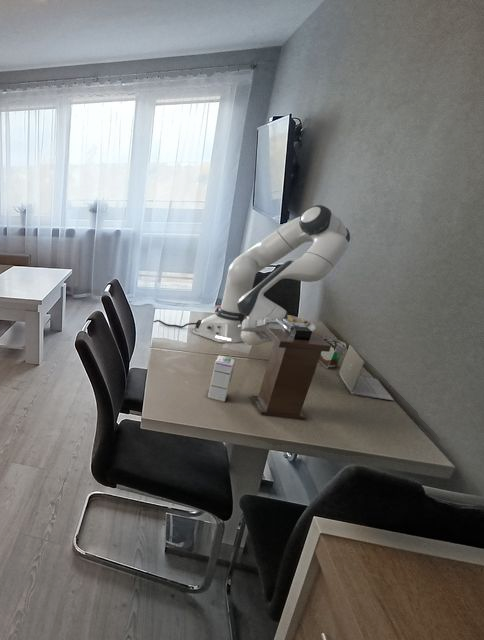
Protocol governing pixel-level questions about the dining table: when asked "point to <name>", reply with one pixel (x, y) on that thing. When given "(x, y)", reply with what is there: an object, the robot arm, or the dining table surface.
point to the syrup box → (221, 378)
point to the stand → (288, 374)
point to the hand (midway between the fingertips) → (282, 323)
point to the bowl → (296, 319)
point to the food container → (332, 353)
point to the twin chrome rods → (295, 330)
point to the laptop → (360, 377)
